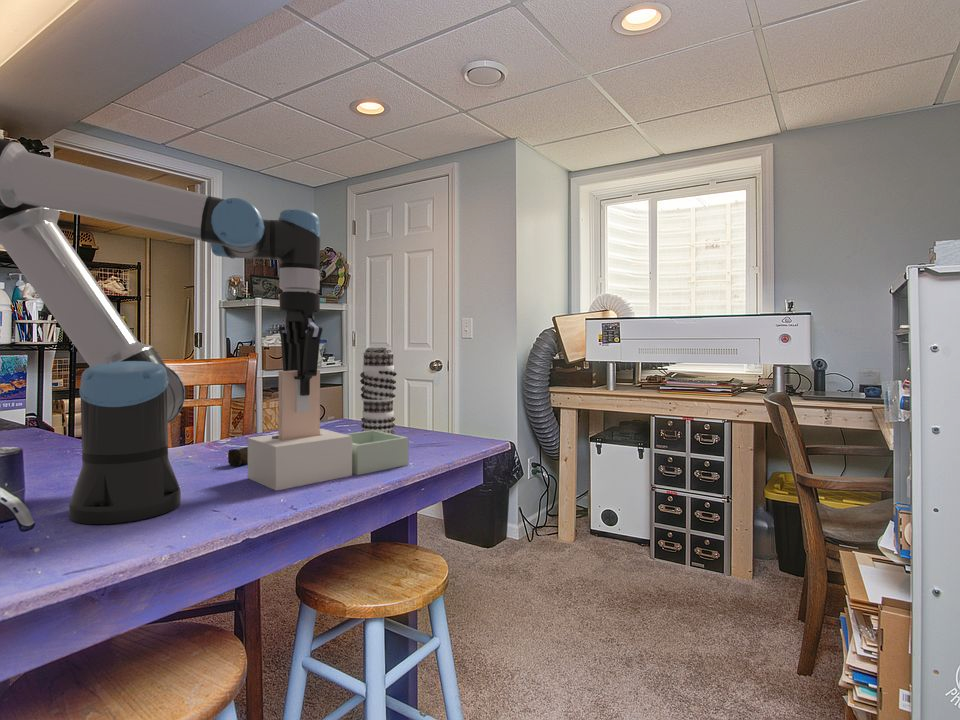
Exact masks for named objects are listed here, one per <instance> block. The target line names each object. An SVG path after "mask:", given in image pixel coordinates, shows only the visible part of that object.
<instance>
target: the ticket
mask: <svg viewBox="0 0 960 720" xmlns="http://www.w3.org/2000/svg"><path fill="white" fill-rule="evenodd" d="M294 376H298V373H297V371H283V370H279V371H278V434H279V440H281V441H284V440H291V439H298V438H306V437H313V436H320V429H321V427H320V426H321V424H320V423H321V420H320V419H321V395H320V394H321V370H319V369H317V375H316V376H313V377H312V378H311V379H310V412H301V413H295V379H294Z"/></svg>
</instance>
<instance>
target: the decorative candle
mask: <svg viewBox="0 0 960 720" xmlns="http://www.w3.org/2000/svg"><path fill="white" fill-rule="evenodd" d="M362 354H363V365H362V372H361V373H360V374H359V376H360V377H361V379H360V381H359V382H360V384H361V385H362V386H361V387H360V390H361V394H360V397H361V401H363V410H362V418H361V419H360V421H361V422H363V423H362V424H361V428H363V429H362V430H361V431H360V432H363V431H370V430H376V431H381V432H385V433H390V434H394V435H396V430H395V429H394V428H395V427H396V424H395V423H394V422H395V421H396V418H395V417H394V416H395V414H394V413H395V411H394V400H396V394H394V393H393V392H394V391H395V390H396V389H397V387H396V386H395V384H396V383H397V380H395V379H394V377H396V376H397V374H398V373H397V372H395V365H394V353H393V352H392V349H391V348H390V347H367V348H366V349H365V351H364V352H363V353H362Z"/></svg>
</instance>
